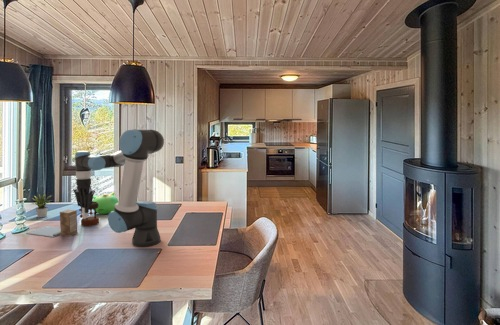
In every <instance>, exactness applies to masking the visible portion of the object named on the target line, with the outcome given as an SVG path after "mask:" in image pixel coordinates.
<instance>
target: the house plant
mask: <svg viewBox="0 0 500 325" xmlns="http://www.w3.org/2000/svg"><path fill="white" fill-rule="evenodd" d="M52 196H53V194H50V195H49V196H47V197H46V194H45V193H44V194H43V195H42V196H41V194H40V193H38V197H37V196H36V195H34V198H35V199H34V198H33V197H32V198H31V199H32V200H34V201H35V203H33V202H32V203H31V205H36V206H37V207H36V208H35V212H36V215H37V216H36V217H37V218H39V217H41V218H46V217H47V216H48V207H49V206H47V205H48V204H51V202H50V201H51V199H50V198H51V197H52ZM49 199H50V200H49Z"/></svg>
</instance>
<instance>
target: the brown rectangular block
mask: <svg viewBox="0 0 500 325" xmlns="http://www.w3.org/2000/svg"><path fill="white" fill-rule="evenodd" d="M77 215H78V214H77V210H76V209H64V210H61V211H60V212H59V221H60V222H59V223H60V227H61V235H60V236H63V237H71V236H74V235H76V234H78V218H77V217H78V216H77Z"/></svg>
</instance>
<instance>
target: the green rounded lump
mask: <svg viewBox="0 0 500 325" xmlns="http://www.w3.org/2000/svg"><path fill="white" fill-rule="evenodd" d="M115 194H116V192H115V191H114V192H111V193H109V194H100V195H99V196H96V195H93V200H92V202H97V203H98V204H99V206H98V208H96V212H99V213H98V214H99V215H100V214H101V215H106V214H107V215H108V214H109V213H110V212H111V211H114V208H115V204H116V203H118V202H119V198H118V197H116V196H115ZM100 209H104V210H100ZM93 211H94V209H93Z"/></svg>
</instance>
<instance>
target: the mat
mask: <svg viewBox="0 0 500 325" xmlns="http://www.w3.org/2000/svg"><path fill="white" fill-rule="evenodd" d="M27 234H28V235H34V236H41V237H48V238H49V237H50V238H55V237H56V238H57V237H59V236H62V235H61V227H59V226H52V225H46V226H42V227H38V228H37V229H34V230H31V231H28V232H26V235H27Z"/></svg>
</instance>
